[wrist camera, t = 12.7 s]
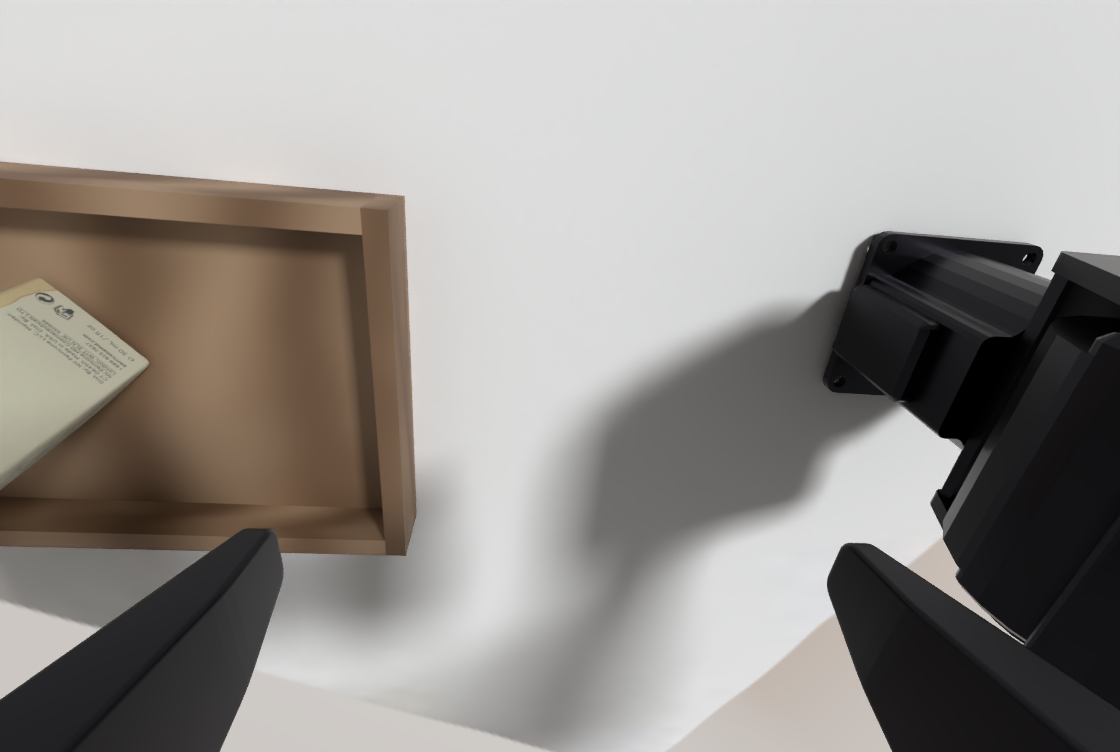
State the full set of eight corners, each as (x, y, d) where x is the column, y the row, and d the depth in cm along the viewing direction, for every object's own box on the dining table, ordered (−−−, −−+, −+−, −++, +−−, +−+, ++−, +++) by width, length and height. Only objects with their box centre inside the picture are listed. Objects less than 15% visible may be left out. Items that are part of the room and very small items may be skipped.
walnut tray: (404, 196, 18) (387, 210, 16) (416, 514, 25) (405, 555, 22) (-269, 138, 16) (-394, 145, 14) (-68, 499, 23) (-131, 542, 21)
